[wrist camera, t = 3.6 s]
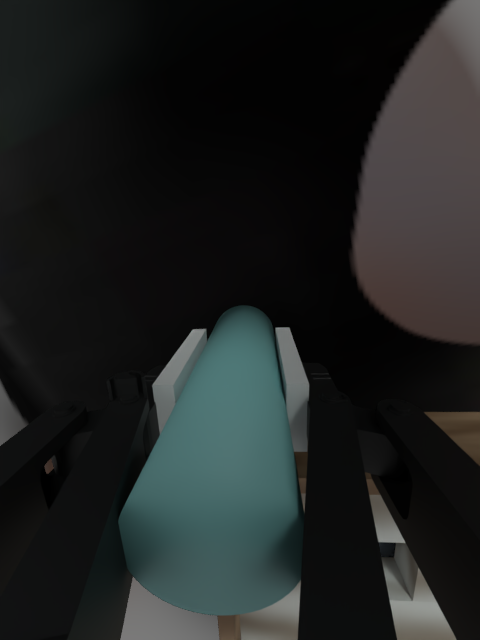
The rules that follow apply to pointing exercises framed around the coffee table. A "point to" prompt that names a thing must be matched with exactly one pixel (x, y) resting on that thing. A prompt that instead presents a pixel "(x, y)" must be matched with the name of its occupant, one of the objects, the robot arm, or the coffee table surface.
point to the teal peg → (221, 483)
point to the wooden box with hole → (400, 571)
